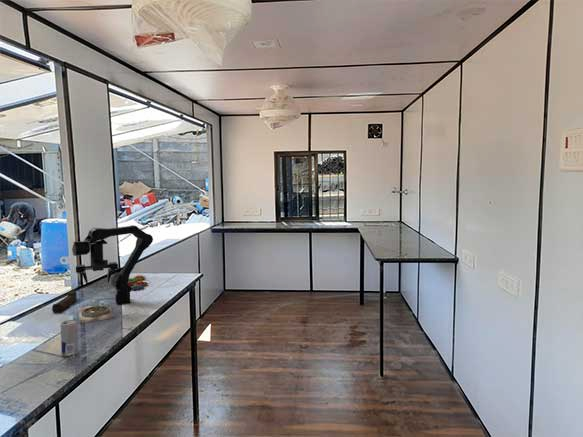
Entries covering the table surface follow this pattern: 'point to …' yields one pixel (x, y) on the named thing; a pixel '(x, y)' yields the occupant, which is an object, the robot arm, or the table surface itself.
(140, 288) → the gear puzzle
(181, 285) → the table surface
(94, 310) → the bronze gear
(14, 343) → the table surface
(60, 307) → the hand tool
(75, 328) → the energy drink
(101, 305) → the gear board
